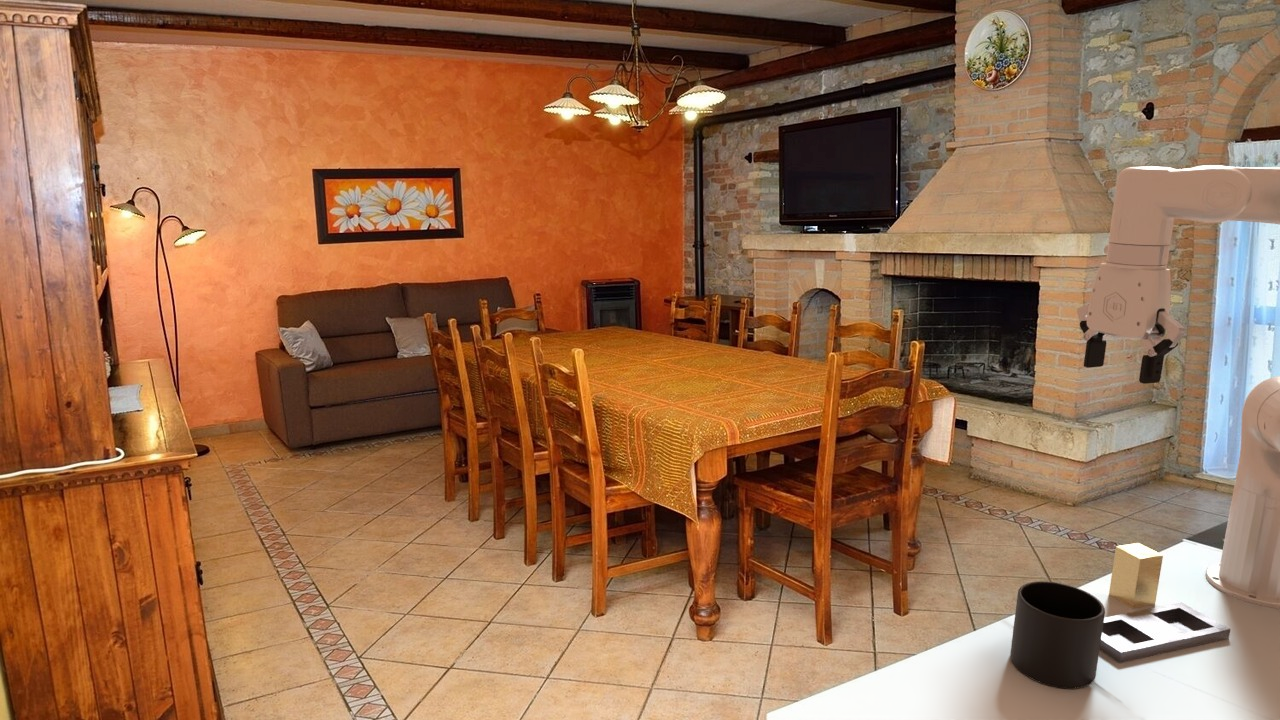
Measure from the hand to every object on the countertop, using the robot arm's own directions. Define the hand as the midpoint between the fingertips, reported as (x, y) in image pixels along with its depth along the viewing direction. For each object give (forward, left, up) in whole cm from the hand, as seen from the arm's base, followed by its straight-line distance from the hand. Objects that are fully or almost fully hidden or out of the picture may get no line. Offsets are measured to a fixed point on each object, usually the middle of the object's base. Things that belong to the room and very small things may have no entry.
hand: (1120, 374), depth 122 cm
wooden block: (-2, +11, -30) cm, 32 cm away
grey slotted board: (-1, +21, -30) cm, 37 cm away
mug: (+12, +30, -31) cm, 44 cm away
